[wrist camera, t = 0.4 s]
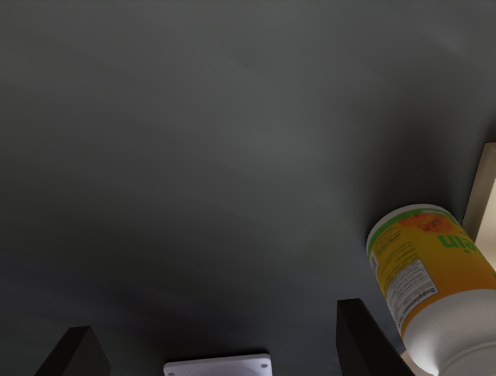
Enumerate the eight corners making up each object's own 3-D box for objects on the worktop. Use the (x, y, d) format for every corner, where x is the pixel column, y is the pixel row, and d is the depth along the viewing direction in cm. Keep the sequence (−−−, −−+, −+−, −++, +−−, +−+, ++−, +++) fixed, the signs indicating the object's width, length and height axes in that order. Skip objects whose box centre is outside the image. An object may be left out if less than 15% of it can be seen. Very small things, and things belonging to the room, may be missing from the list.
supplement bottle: (474, 221, 23) (608, 382, 15) (412, 279, 25) (497, 443, 17) (405, 186, 21) (512, 346, 13) (346, 252, 24) (406, 419, 16)
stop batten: (464, 306, 27) (475, 324, 26) (438, 308, 27) (448, 327, 26) (520, 139, 20) (539, 153, 19) (484, 143, 20) (501, 157, 19)
